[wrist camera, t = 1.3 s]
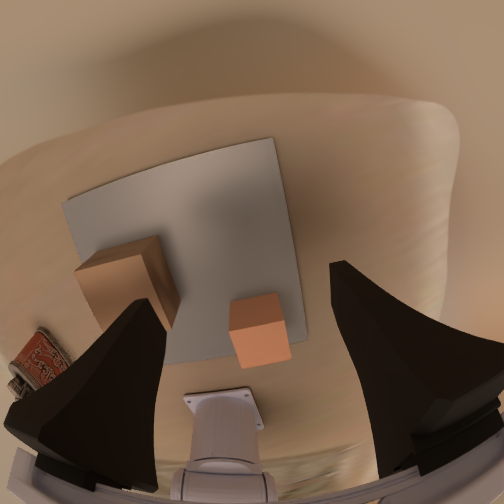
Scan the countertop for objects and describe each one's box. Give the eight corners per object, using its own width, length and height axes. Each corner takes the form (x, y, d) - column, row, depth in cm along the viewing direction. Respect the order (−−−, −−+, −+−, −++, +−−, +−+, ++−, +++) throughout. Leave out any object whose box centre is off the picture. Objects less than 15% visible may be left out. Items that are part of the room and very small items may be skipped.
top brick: (284, 329, 24) (291, 359, 20) (240, 338, 24) (241, 368, 20) (277, 292, 22) (284, 320, 19) (229, 302, 23) (228, 331, 19)
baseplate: (305, 333, 25) (308, 340, 25) (138, 361, 26) (135, 367, 25) (271, 138, 19) (272, 137, 18) (67, 200, 19) (61, 203, 19)
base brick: (181, 300, 22) (171, 329, 19) (122, 311, 22) (106, 337, 19) (157, 234, 20) (140, 254, 16) (96, 251, 20) (73, 271, 17)
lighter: (33, 328, 24) (-7, 379, 15) (47, 324, 24) (5, 379, 15) (67, 375, 27) (39, 429, 18) (82, 374, 27) (54, 432, 18)
